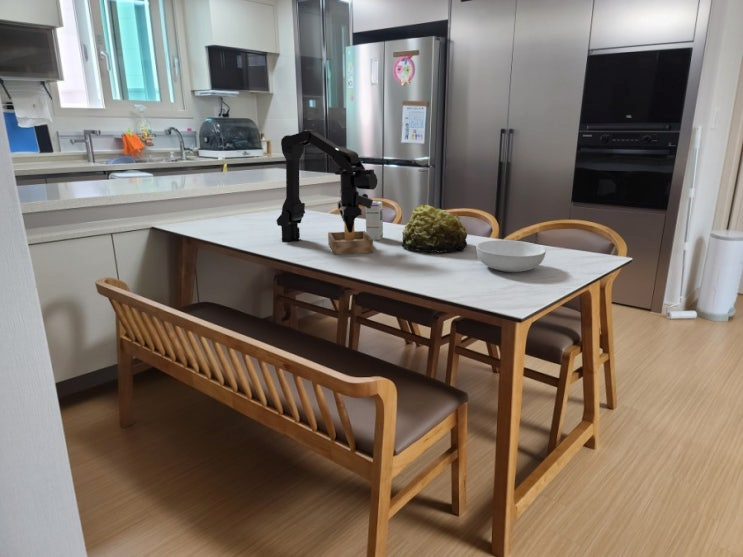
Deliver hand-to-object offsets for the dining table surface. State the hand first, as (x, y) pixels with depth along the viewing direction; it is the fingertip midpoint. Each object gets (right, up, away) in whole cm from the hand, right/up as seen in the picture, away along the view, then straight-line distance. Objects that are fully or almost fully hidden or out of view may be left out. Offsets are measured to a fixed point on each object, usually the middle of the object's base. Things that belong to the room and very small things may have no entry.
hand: (349, 231), depth 186 cm
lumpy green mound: (+31, -6, +4) cm, 32 cm away
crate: (0, -6, +2) cm, 6 cm away
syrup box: (+9, -1, +18) cm, 20 cm away
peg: (0, -3, +1) cm, 3 cm away
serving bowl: (+51, -14, -25) cm, 59 cm away
